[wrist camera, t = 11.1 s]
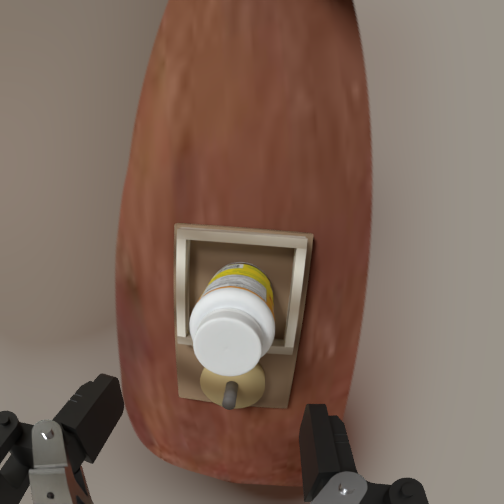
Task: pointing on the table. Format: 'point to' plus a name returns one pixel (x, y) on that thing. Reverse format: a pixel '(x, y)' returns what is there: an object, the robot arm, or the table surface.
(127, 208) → the table surface
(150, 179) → the table surface
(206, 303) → the supplement bottle
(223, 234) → the board
